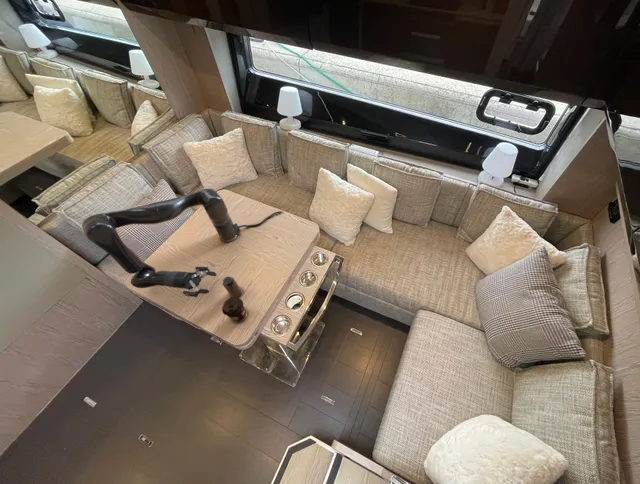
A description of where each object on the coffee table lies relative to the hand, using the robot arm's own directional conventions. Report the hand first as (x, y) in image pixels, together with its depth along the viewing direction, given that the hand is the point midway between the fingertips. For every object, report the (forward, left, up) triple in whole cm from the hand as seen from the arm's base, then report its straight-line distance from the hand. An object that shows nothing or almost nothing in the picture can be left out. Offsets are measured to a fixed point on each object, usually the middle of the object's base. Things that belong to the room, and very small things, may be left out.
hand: (212, 282), depth 128 cm
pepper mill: (-7, +6, -9) cm, 13 cm away
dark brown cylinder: (-4, +18, -9) cm, 20 cm away
